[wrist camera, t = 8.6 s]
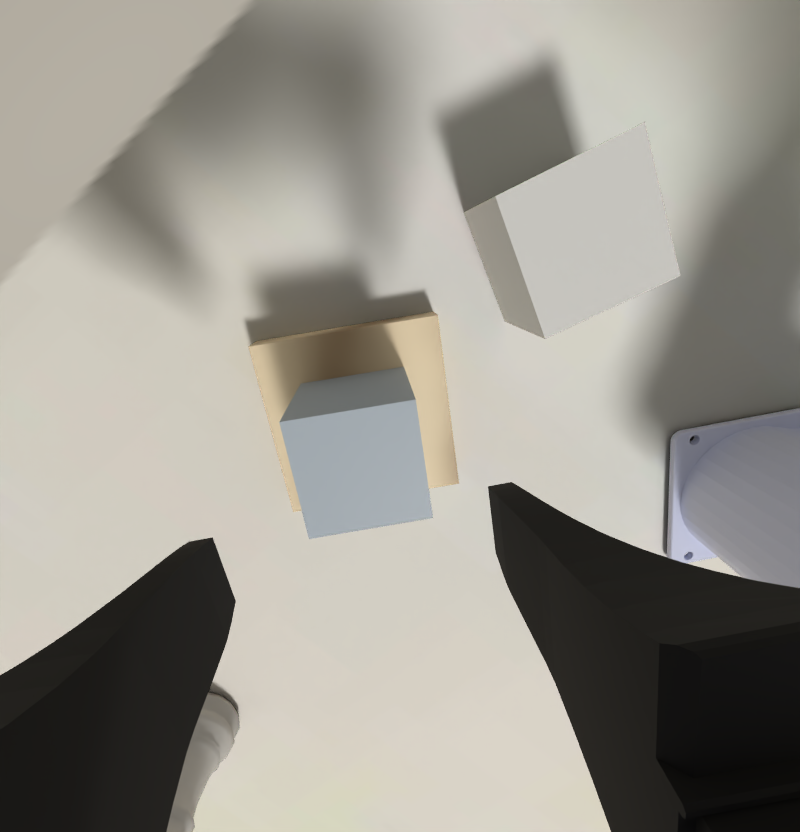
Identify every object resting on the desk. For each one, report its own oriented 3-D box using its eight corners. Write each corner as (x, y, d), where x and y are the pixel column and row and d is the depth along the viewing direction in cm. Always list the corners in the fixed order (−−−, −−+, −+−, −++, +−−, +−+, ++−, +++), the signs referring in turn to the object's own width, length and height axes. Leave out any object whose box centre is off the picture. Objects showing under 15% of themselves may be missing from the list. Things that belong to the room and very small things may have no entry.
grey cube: (574, 157, 18) (644, 121, 14) (607, 272, 20) (680, 275, 15) (463, 212, 19) (495, 196, 14) (504, 321, 20) (545, 339, 16)
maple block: (431, 310, 21) (437, 315, 19) (451, 465, 23) (459, 483, 21) (259, 338, 21) (248, 346, 19) (299, 491, 23) (293, 511, 21)
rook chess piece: (148, 709, 26) (60, 888, 19) (209, 675, 26) (144, 846, 18) (198, 752, 28) (135, 934, 20) (257, 721, 27) (215, 896, 20)
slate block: (403, 366, 19) (415, 399, 15) (418, 460, 21) (433, 517, 16) (300, 383, 19) (279, 422, 15) (322, 476, 21) (309, 539, 16)
